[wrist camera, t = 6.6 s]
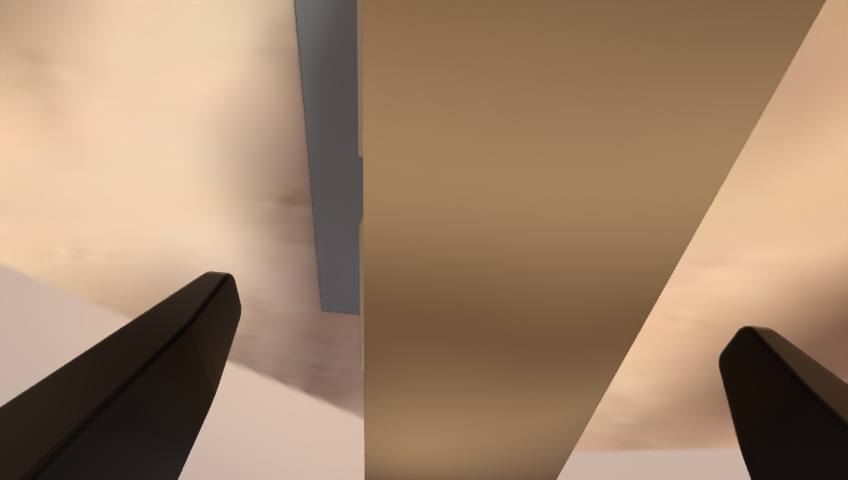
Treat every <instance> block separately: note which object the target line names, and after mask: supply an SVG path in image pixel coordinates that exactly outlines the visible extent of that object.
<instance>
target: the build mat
mask: <svg viewBox="0 0 848 480" xmlns="http://www.w3.org/2000/svg"><path fill="white" fill-rule="evenodd" d="M295 7H296V18H297V30H298V41H299V53H300V65H301V76H302V88H303V99H304V111H305V123H306V134H307V146H308V158H309V169H310V181H311V192H312V204H313V216H314V227H315V239H316V251H317V262H318V274H319V285H320V297H321V309H322V311H327V312H337V313H346V314H356V315H360V253H359V227H360V223H361V220H362V216H363V157H360V156H359V151H358V52H357V0H295Z"/></svg>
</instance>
